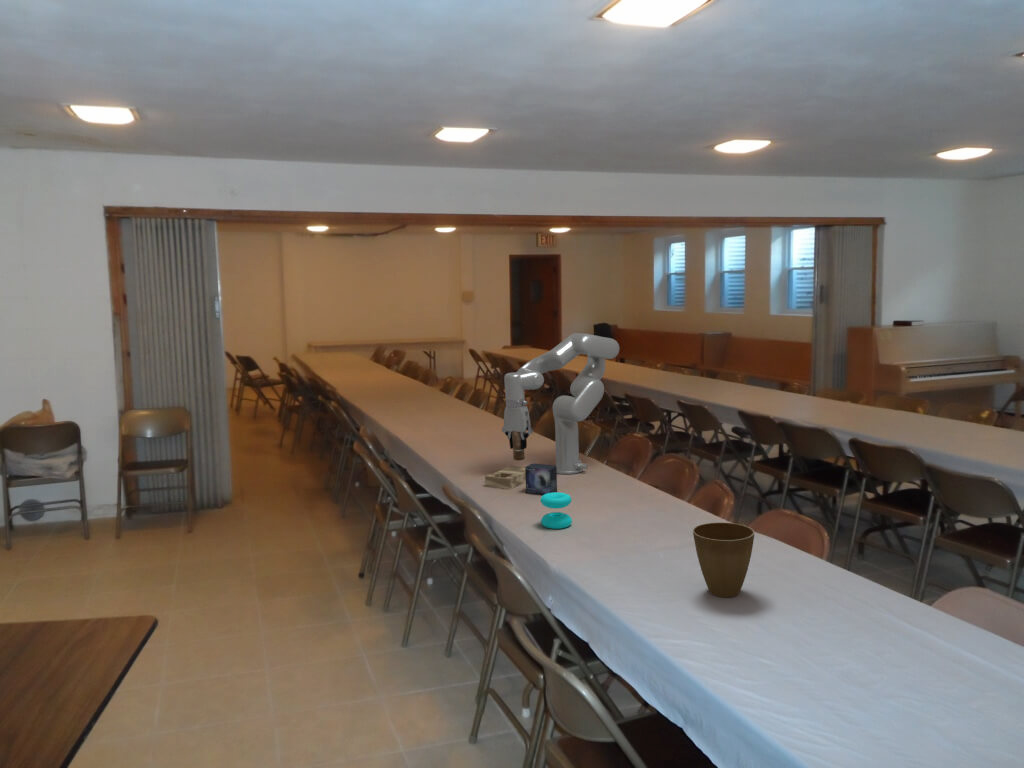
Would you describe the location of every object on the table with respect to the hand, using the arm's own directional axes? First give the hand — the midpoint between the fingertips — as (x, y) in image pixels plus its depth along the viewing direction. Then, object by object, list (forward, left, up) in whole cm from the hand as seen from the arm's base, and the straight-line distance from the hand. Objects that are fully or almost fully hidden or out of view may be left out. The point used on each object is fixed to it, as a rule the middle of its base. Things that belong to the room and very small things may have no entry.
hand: (518, 447), depth 323 cm
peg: (0, 0, -5) cm, 5 cm away
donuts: (-43, +48, -13) cm, 65 cm away
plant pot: (-107, +79, -13) cm, 133 cm away
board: (0, +6, -13) cm, 14 cm away
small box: (-19, +15, -13) cm, 27 cm away
